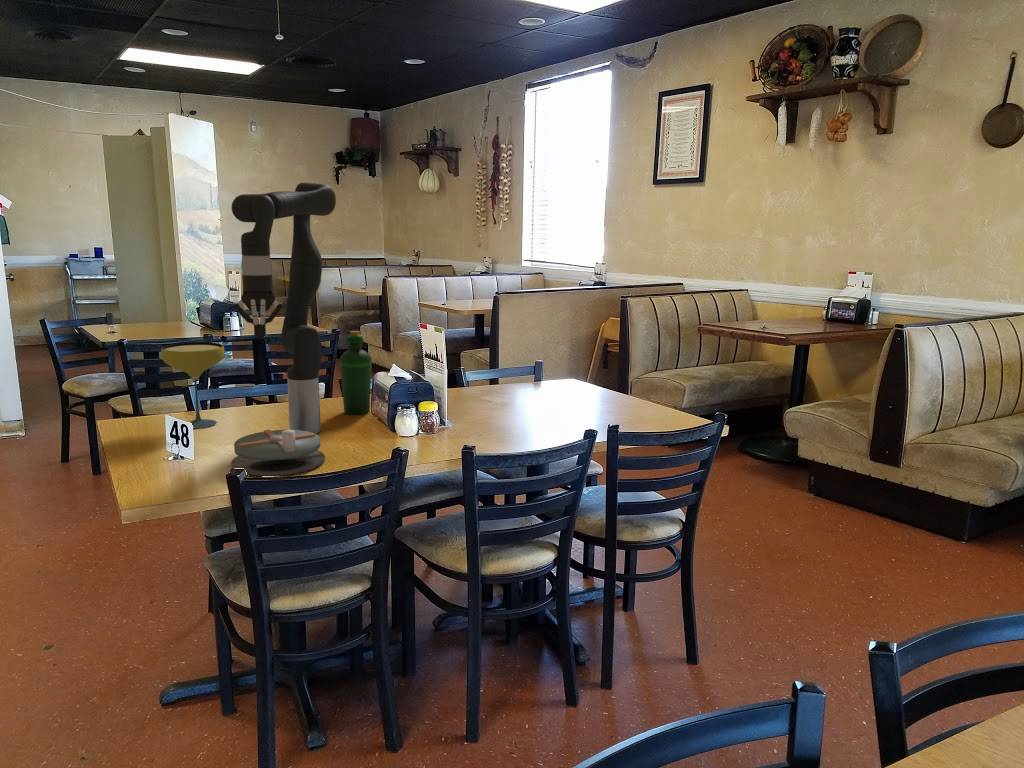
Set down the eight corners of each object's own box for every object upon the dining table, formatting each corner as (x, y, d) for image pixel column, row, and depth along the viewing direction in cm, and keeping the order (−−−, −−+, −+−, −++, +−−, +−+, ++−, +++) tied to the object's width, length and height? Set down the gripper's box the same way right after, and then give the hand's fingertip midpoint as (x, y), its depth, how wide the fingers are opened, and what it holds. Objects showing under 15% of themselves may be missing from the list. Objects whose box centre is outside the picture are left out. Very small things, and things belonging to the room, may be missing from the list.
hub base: (240, 450, 207) (239, 437, 206) (327, 448, 211) (327, 434, 210) (222, 479, 184) (221, 464, 183) (321, 475, 188) (320, 460, 187)
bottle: (370, 407, 258) (368, 328, 252) (374, 415, 249) (373, 333, 243) (339, 409, 255) (337, 329, 249) (342, 417, 245) (340, 334, 239)
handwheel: (225, 443, 199) (223, 419, 198) (304, 431, 212) (303, 409, 210) (247, 465, 182) (245, 439, 180) (332, 451, 194) (331, 427, 192)
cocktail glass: (239, 424, 234) (234, 347, 228) (183, 435, 220) (176, 353, 215) (212, 414, 245) (207, 340, 240) (157, 424, 232) (150, 346, 227)
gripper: (228, 273, 187) (232, 341, 190) (282, 274, 190) (285, 340, 194) (231, 272, 194) (235, 336, 198) (283, 272, 197) (286, 335, 201)
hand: (260, 338), depth 196 cm, fingers closed
